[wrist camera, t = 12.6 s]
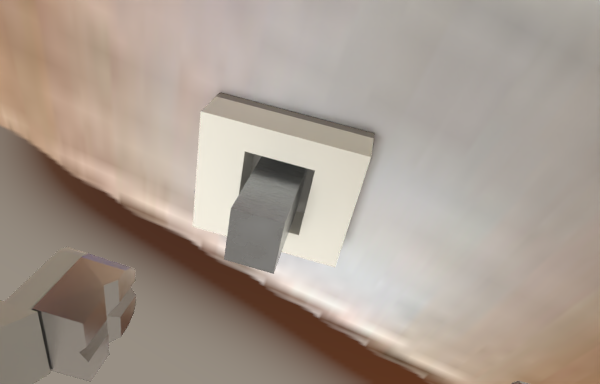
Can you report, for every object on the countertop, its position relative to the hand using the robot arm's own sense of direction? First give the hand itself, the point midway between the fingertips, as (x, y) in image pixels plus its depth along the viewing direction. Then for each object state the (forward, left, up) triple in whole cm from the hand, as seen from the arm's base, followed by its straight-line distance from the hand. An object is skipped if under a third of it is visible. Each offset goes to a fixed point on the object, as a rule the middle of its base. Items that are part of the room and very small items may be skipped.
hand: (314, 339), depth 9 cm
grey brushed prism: (+5, +14, -28) cm, 32 cm away
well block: (+5, +14, -29) cm, 33 cm away
